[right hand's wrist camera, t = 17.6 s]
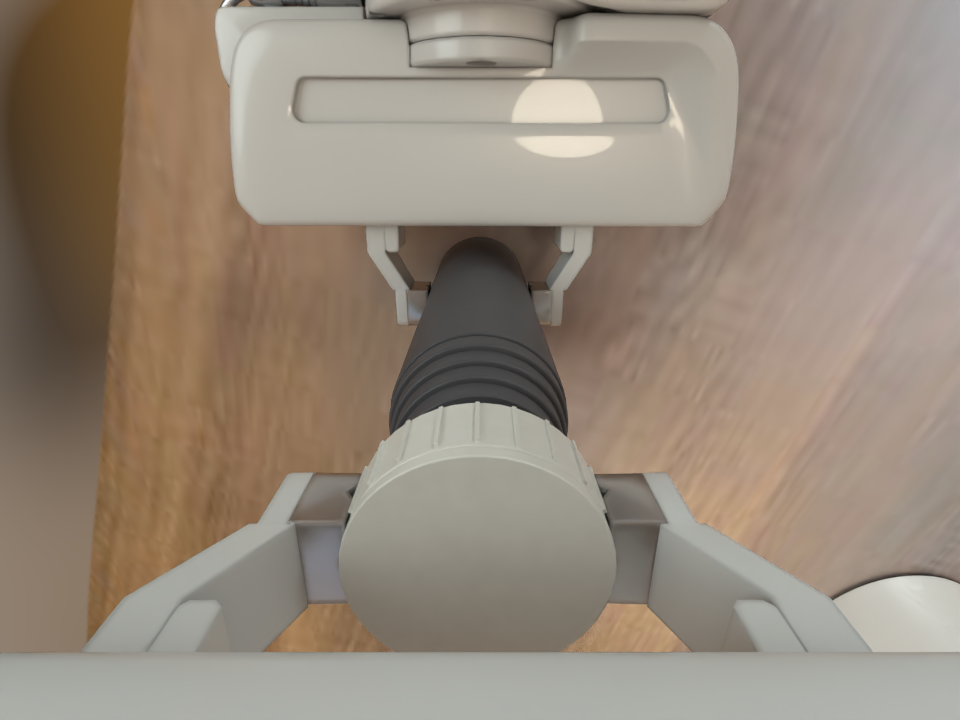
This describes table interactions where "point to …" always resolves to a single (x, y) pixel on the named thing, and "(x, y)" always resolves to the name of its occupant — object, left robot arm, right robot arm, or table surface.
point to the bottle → (479, 342)
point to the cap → (477, 536)
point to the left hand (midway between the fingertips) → (480, 322)
